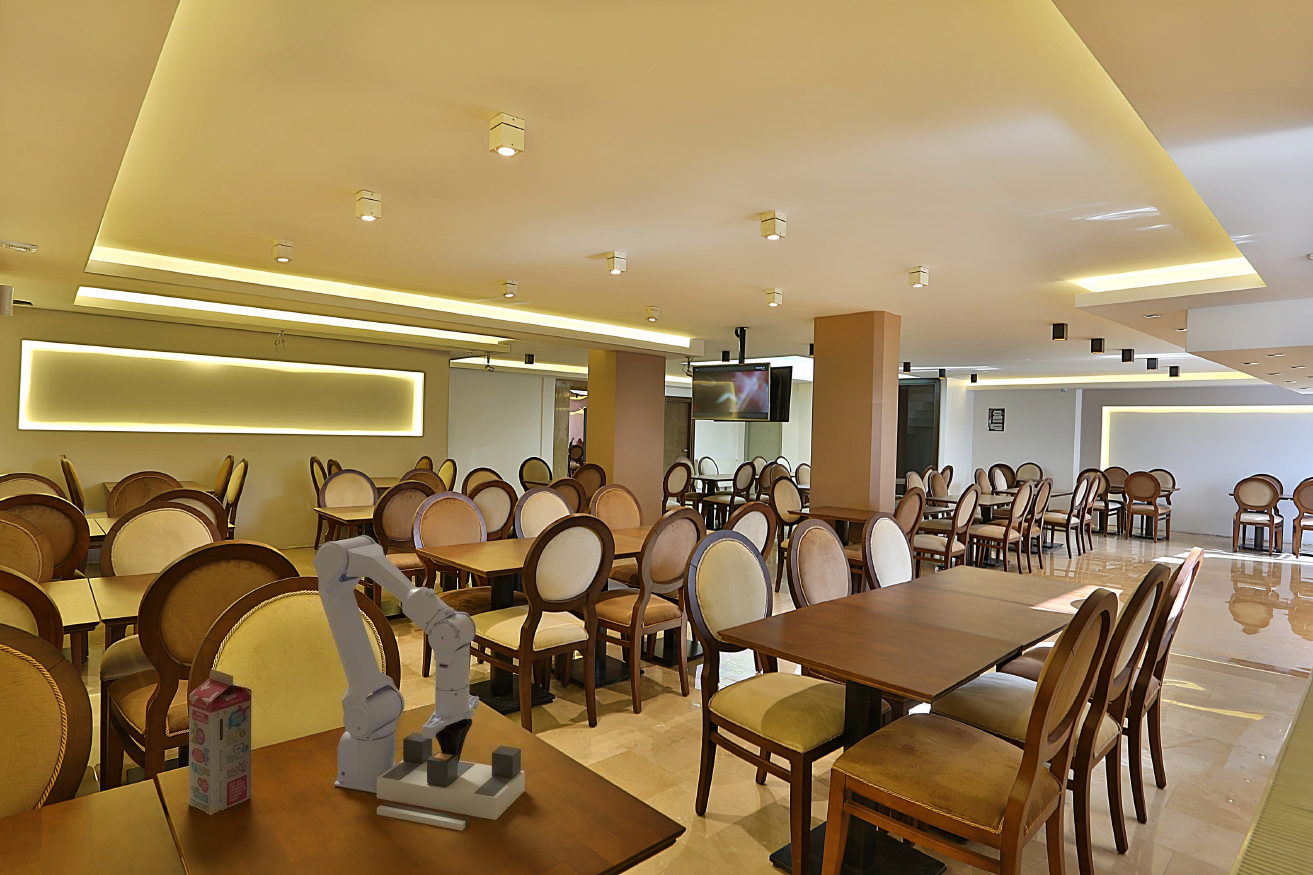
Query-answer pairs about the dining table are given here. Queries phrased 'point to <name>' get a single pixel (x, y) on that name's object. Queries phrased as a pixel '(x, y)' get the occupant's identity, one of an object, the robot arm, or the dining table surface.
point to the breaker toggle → (442, 769)
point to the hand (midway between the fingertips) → (451, 763)
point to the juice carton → (219, 743)
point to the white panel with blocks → (468, 794)
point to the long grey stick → (423, 816)
